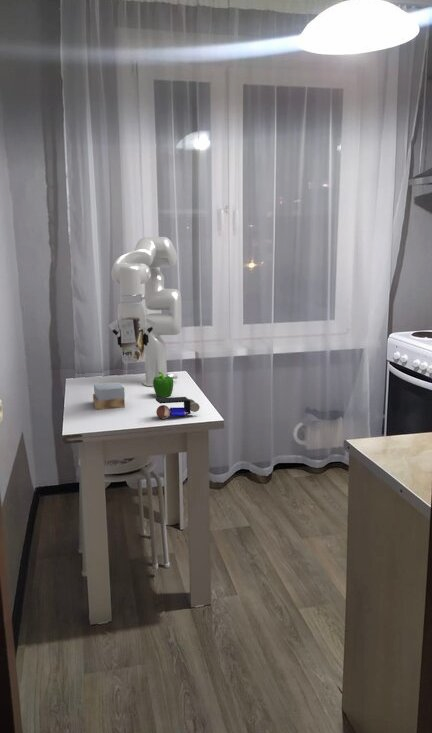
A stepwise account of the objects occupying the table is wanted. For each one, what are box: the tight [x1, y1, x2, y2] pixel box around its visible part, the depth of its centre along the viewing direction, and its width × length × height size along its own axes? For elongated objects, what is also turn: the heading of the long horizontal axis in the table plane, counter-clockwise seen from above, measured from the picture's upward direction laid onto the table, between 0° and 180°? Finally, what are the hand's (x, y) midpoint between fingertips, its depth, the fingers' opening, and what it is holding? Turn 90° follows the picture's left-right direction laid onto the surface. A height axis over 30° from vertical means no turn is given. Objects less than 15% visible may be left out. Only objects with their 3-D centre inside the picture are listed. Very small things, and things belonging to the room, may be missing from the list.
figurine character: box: [155, 396, 201, 420], centre depth 210 cm, size 7×8×15 cm
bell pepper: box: [153, 372, 174, 398], centre depth 239 cm, size 8×8×10 cm
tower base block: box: [92, 393, 126, 411], centre depth 227 cm, size 11×11×4 cm
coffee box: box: [120, 318, 145, 364], centre depth 214 cm, size 9×6×16 cm
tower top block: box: [93, 381, 126, 401], centre depth 227 cm, size 10×10×4 cm
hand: (133, 345), depth 215 cm, fingers closed on coffee box, 8 cm apart
